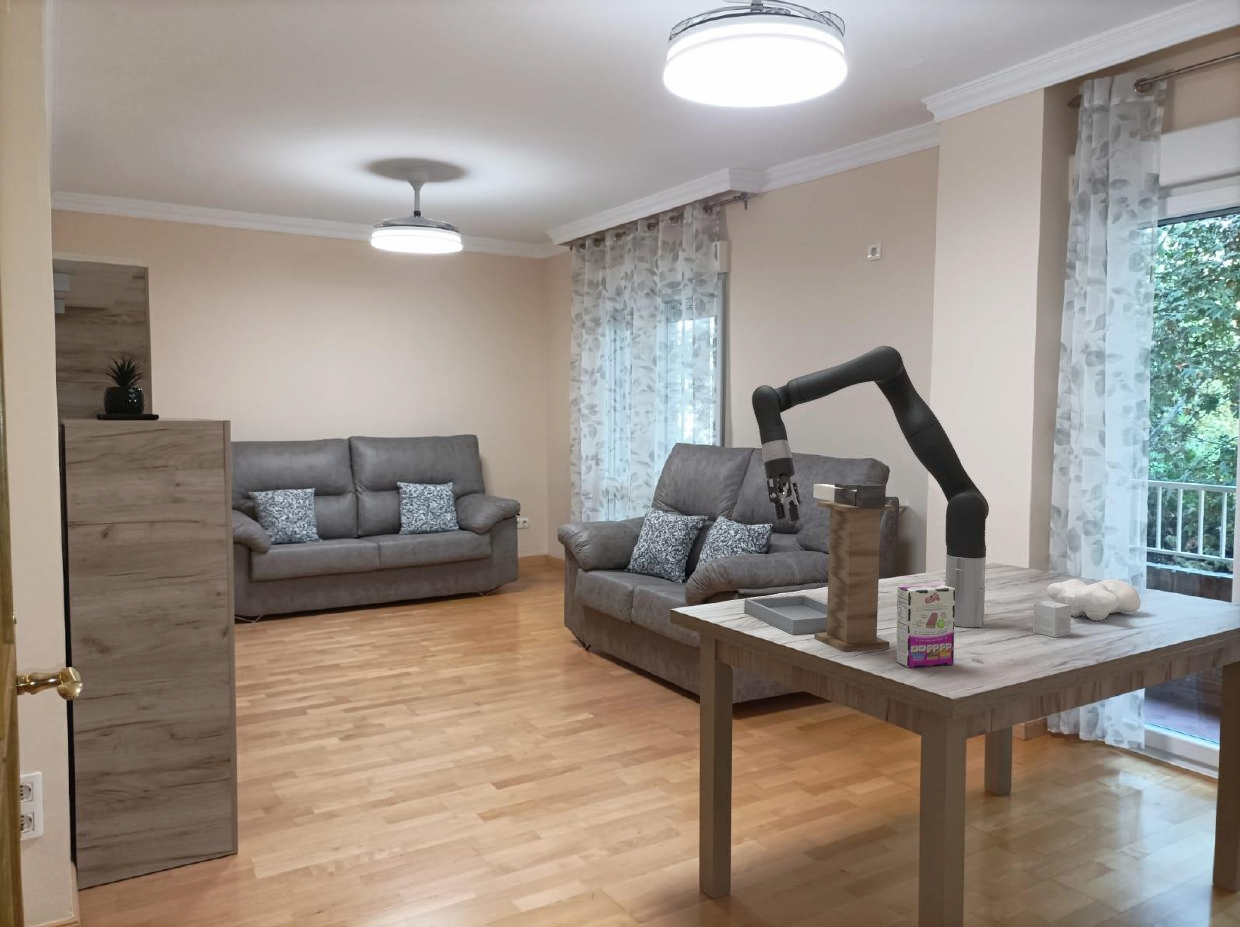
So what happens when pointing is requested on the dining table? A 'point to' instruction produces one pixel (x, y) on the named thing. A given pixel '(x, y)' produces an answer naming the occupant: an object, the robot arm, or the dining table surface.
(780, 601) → the tray
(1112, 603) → the torso sculpture
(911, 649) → the candy bar box
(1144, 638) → the dining table surface
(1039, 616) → the skincare box
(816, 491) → the plug
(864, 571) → the socket stand
